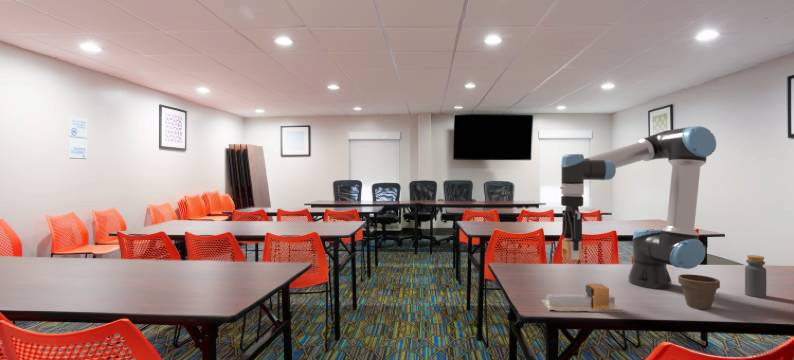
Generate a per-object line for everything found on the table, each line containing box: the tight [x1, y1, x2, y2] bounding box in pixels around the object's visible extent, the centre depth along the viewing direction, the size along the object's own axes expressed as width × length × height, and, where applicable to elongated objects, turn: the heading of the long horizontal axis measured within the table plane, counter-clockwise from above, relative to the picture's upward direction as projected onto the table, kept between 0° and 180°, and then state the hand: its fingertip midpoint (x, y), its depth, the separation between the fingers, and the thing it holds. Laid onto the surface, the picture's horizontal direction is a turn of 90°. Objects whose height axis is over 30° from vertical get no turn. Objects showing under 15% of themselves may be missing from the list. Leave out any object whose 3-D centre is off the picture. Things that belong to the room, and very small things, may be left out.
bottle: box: [744, 254, 767, 299], centre depth 141 cm, size 6×6×15 cm
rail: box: [540, 283, 623, 313], centre depth 130 cm, size 24×9×8 cm, turn 86°
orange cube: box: [561, 238, 584, 261], centre depth 139 cm, size 6×6×6 cm
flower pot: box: [677, 273, 721, 310], centre depth 130 cm, size 12×11×10 cm
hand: (571, 257), depth 139 cm, fingers closed on orange cube, 6 cm apart
